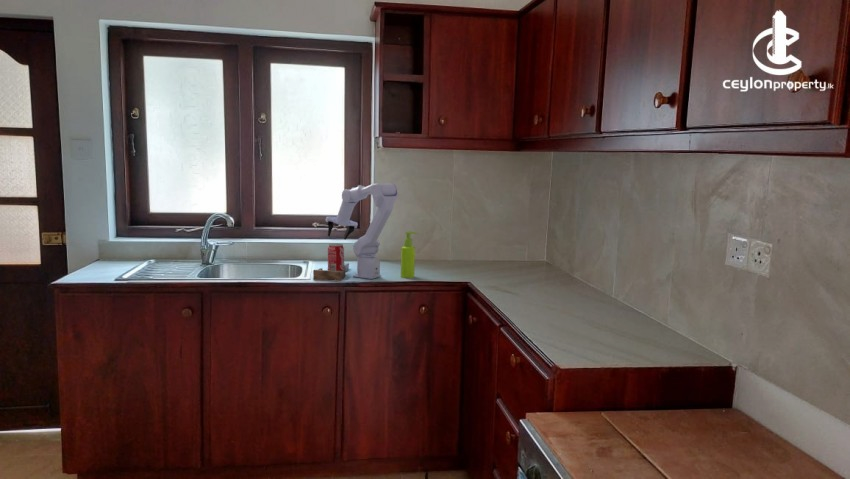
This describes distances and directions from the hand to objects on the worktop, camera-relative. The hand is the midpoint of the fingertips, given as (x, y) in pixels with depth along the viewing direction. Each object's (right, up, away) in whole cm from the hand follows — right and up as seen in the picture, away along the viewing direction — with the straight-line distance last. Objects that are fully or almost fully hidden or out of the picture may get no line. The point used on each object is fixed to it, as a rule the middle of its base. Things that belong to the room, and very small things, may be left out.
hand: (336, 236), depth 272 cm
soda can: (+1, -17, -11) cm, 20 cm away
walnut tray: (0, -18, -21) cm, 27 cm away
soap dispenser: (+34, -18, -14) cm, 41 cm away
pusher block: (+2, -16, -3) cm, 16 cm away
